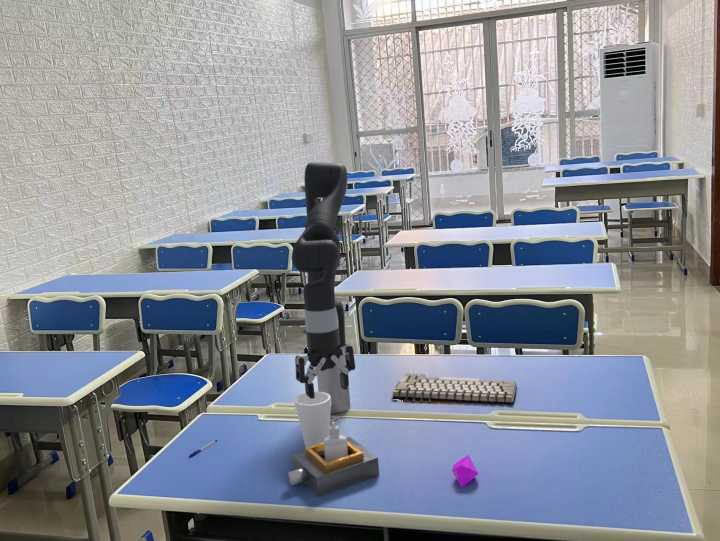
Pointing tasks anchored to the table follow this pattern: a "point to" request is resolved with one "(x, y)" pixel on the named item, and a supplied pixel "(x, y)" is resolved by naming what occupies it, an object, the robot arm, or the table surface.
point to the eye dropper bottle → (335, 444)
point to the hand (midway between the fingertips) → (327, 393)
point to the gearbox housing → (333, 468)
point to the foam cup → (314, 417)
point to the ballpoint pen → (201, 449)
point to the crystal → (464, 470)
